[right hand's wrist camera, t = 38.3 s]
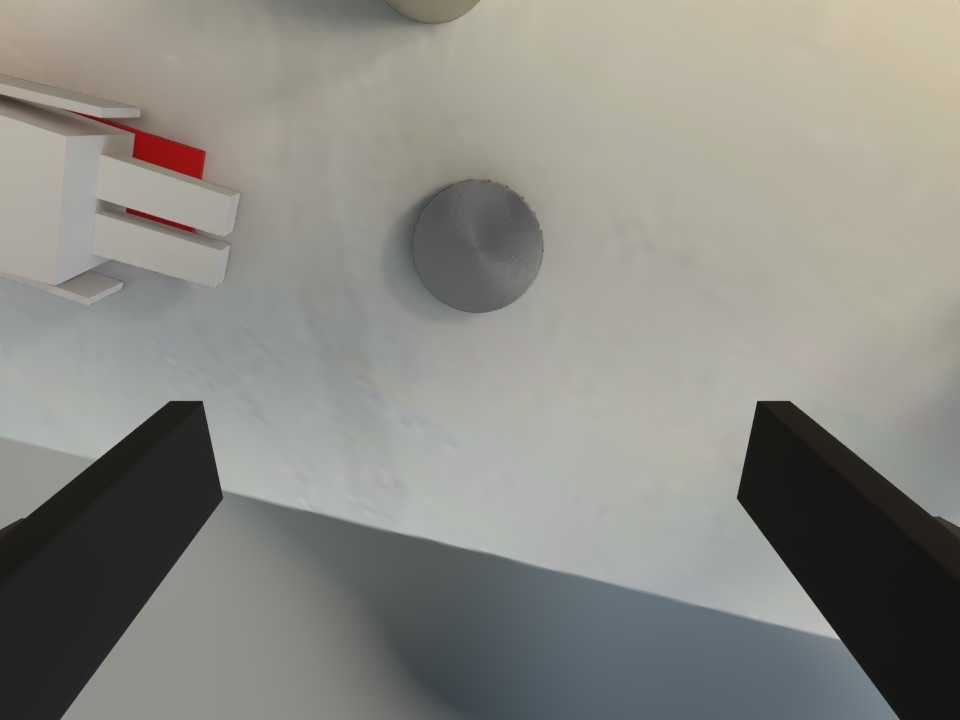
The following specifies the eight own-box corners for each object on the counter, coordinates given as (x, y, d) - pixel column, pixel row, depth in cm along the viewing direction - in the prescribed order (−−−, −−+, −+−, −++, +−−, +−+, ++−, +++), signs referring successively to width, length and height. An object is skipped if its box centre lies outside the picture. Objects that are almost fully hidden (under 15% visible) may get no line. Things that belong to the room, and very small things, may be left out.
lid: (434, 160, 38) (432, 161, 36) (560, 203, 39) (563, 206, 37) (400, 285, 41) (396, 291, 40) (517, 322, 42) (518, 329, 41)
